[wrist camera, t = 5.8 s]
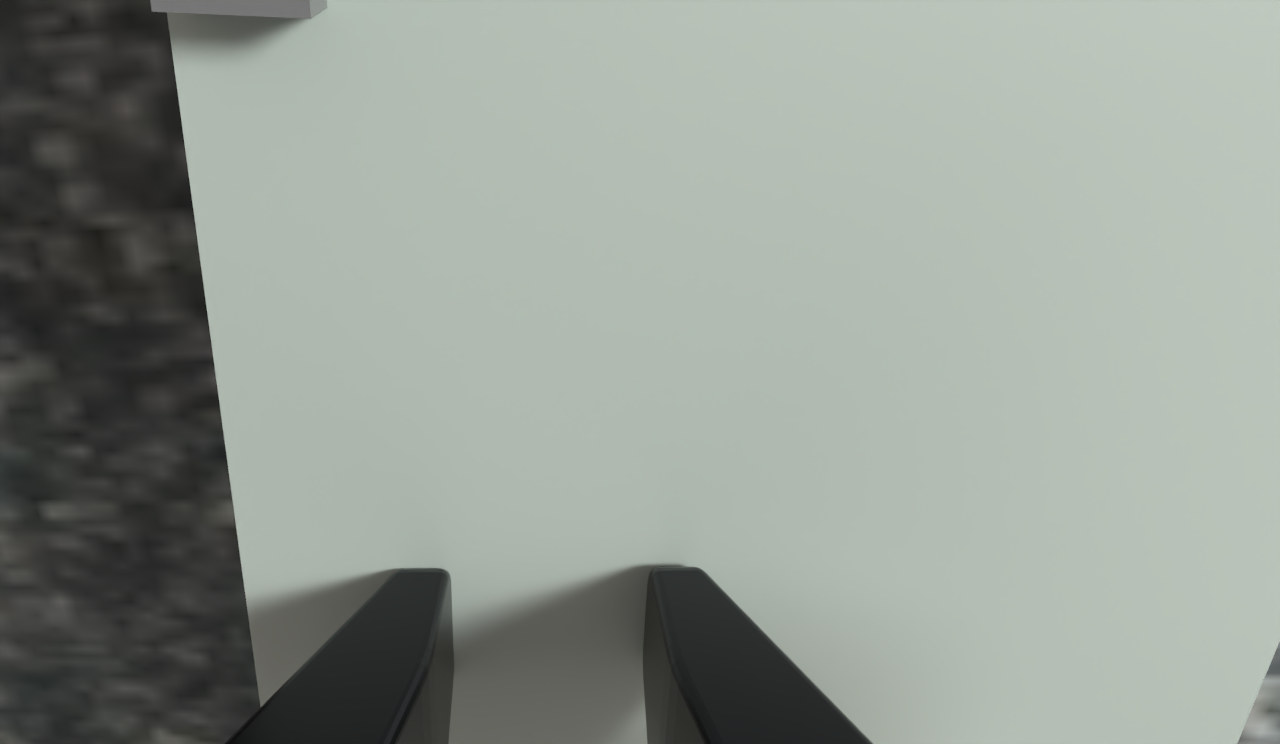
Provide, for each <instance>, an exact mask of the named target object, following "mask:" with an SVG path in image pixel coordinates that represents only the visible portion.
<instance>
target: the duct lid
mask: <svg viewBox="0 0 1280 744" xmlns="http://www.w3.org/2000/svg"><path fill="white" fill-rule="evenodd" d="M150 3H151V10H152V12H167V17H168V25H169V32H170V40H171V47H172V55H173V62H174V69H175V77H176V84H177V92H178V99H179V107H180V114H181V121H182V129H183V136H184V144H185V151H186V158H187V166H188V173H189V181H190V188H191V196H192V203H193V210H194V218H195V225H196V233H197V240H198V248H199V255H200V262H201V270H202V277H203V285H204V292H205V300H206V307H207V314H208V322H209V329H210V337H211V344H212V351H213V359H214V366H215V374H216V381H217V389H218V396H219V403H220V411H221V418H222V426H223V433H224V441H225V448H226V455H227V463H228V470H229V478H230V485H231V492H232V500H233V507H234V515H235V522H236V530H237V537H238V544H239V552H240V559H241V567H242V574H243V582H244V589H245V596H246V604H247V611H248V619H249V626H250V633H251V641H252V648H253V656H254V663H255V671H256V678H257V685H258V693H259V700H260V708H261V707H262V706H263V704H264V703H265V702H266V701H267V700H268V699H269V698H270V697H271V696H272V695H273V694H274V693H275V692H276V691H277V690H278V689H279V688H280V687H281V686H282V685H283V684H284V683H285V682H286V681H287V680H288V679H289V678H290V677H291V676H292V675H293V674H294V673H295V672H296V671H297V670H298V669H299V668H300V667H301V666H302V665H303V664H304V663H305V662H306V661H307V660H308V659H309V658H310V657H311V656H312V655H313V654H314V653H315V652H316V651H317V650H318V649H319V648H320V647H321V646H322V645H323V644H324V643H325V642H326V641H327V640H328V639H329V637H330V636H331V635H332V634H333V633H334V632H335V631H336V630H337V629H338V628H339V627H340V626H341V625H342V624H343V623H344V622H345V621H346V620H347V619H348V618H349V617H350V616H351V615H352V614H353V613H354V612H355V611H356V610H357V609H358V608H359V607H360V606H361V605H362V604H363V603H364V602H365V601H366V600H367V599H368V598H369V597H370V596H371V595H372V594H373V593H374V592H375V591H376V590H377V589H378V588H379V587H380V586H381V585H382V584H383V583H384V582H385V581H386V580H387V579H388V578H389V577H390V576H391V575H392V574H393V573H394V572H395V571H397V570H399V569H425V568H441V569H445V570H447V571H448V572H449V574H450V577H451V593H452V622H453V650H454V678H453V691H452V704H451V717H450V729H449V742H448V744H647V728H646V712H645V697H644V681H643V643H644V628H645V613H646V598H647V585H648V577H649V574H650V572H651V571H652V569H654V568H656V567H698V568H700V569H702V570H703V571H705V572H706V573H707V574H708V575H709V576H710V577H711V578H712V579H713V580H714V581H715V582H716V583H717V585H718V586H719V587H720V588H721V589H722V590H723V591H724V592H725V593H726V594H727V595H728V596H729V597H730V598H731V599H732V600H733V601H734V602H735V603H736V604H737V605H738V606H739V607H740V608H741V609H742V610H743V611H744V612H745V613H746V614H747V615H748V616H749V617H750V618H751V619H752V620H753V621H754V622H755V623H756V624H757V625H758V626H759V627H760V628H761V629H762V631H763V632H764V633H765V634H766V635H767V636H768V637H769V638H770V639H771V640H772V641H773V642H774V643H775V644H776V645H777V646H778V647H779V648H780V649H781V650H782V651H783V652H784V653H785V654H786V655H787V656H788V657H789V658H790V659H791V660H792V661H793V662H794V663H795V664H796V665H797V666H798V667H799V668H800V669H801V670H802V671H803V672H804V673H805V674H806V675H807V677H808V678H809V679H810V680H811V681H812V682H813V683H814V684H815V685H816V686H817V687H818V688H819V689H820V690H821V691H822V692H823V693H824V694H825V695H826V696H827V697H828V698H829V699H830V700H831V701H832V702H833V703H834V704H835V705H836V706H837V707H838V708H839V709H840V710H841V711H842V712H843V713H844V714H845V715H846V716H847V717H848V718H849V719H850V720H851V721H852V723H853V724H854V725H855V726H856V727H857V728H858V729H859V730H860V731H861V732H862V733H863V734H864V735H865V736H866V737H867V738H868V739H869V740H870V741H871V742H872V743H873V744H1237V743H1238V740H1239V738H1240V736H1241V733H1242V731H1243V728H1244V726H1245V723H1246V721H1247V719H1248V716H1249V714H1250V711H1251V709H1252V707H1253V704H1254V702H1255V699H1256V697H1257V694H1258V692H1259V690H1260V687H1261V685H1262V682H1263V680H1264V678H1265V675H1266V673H1267V670H1268V668H1269V666H1270V663H1271V661H1272V658H1273V656H1274V653H1275V651H1276V649H1277V646H1278V644H1279V641H1280V0H150Z"/></svg>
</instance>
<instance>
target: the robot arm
mask: <svg viewBox="0 0 1280 744" xmlns="http://www.w3.org/2000/svg"><path fill="white" fill-rule="evenodd" d="M453 678H454V650H453V622H452V593H451V577H450V574H449V572H448V571H447V570H445V569H441V568H425V569H399V570H397V571H395V572H394V573H393V574H392V575H391V576H390V577H389V578H388V579H387V580H386V581H385V582H384V583H383V584H382V585H381V586H380V587H379V588H378V589H377V590H376V591H375V592H374V593H373V594H372V595H371V596H370V597H369V598H368V599H367V600H366V601H365V602H364V603H363V604H362V605H361V606H360V607H359V608H358V609H357V610H356V611H355V612H354V613H353V614H352V615H351V616H350V617H349V618H348V619H347V620H346V621H345V622H344V623H343V624H342V625H341V626H340V627H339V628H338V629H337V630H336V631H335V632H334V633H333V634H332V635H331V636H330V637H329V639H328V640H327V641H326V642H325V643H324V644H323V645H322V646H321V647H320V648H319V649H318V650H317V651H316V652H315V653H314V654H313V655H312V656H311V657H310V658H309V659H308V660H307V661H306V662H305V663H304V664H303V665H302V666H301V667H300V668H299V669H298V670H297V671H296V672H295V673H294V674H293V675H292V676H291V677H290V678H289V679H288V680H287V681H286V682H285V683H284V684H283V685H282V686H281V687H280V688H279V689H278V690H277V691H276V692H275V693H274V694H273V695H272V696H271V697H270V698H269V699H268V700H267V701H266V702H265V703H264V704H263V706H262V707H261V708H260V709H259V710H258V711H257V712H256V713H255V714H254V715H253V716H252V717H251V718H250V719H249V720H248V721H247V722H246V723H245V724H244V725H243V726H242V727H241V728H240V729H239V730H238V731H237V732H236V733H235V734H234V735H233V736H232V737H231V738H230V739H229V740H228V741H227V742H226V743H225V744H448V742H449V729H450V717H451V704H452V691H453ZM643 681H644V697H645V712H646V728H647V744H873V743H872V742H871V741H870V740H869V739H868V738H867V737H866V736H865V735H864V734H863V733H862V732H861V731H860V730H859V729H858V728H857V727H856V726H855V725H854V724H853V723H852V721H851V720H850V719H849V718H848V717H847V716H846V715H845V714H844V713H843V712H842V711H841V710H840V709H839V708H838V707H837V706H836V705H835V704H834V703H833V702H832V701H831V700H830V699H829V698H828V697H827V696H826V695H825V694H824V693H823V692H822V691H821V690H820V689H819V688H818V687H817V686H816V685H815V684H814V683H813V682H812V681H811V680H810V679H809V678H808V677H807V675H806V674H805V673H804V672H803V671H802V670H801V669H800V668H799V667H798V666H797V665H796V664H795V663H794V662H793V661H792V660H791V659H790V658H789V657H788V656H787V655H786V654H785V653H784V652H783V651H782V650H781V649H780V648H779V647H778V646H777V645H776V644H775V643H774V642H773V641H772V640H771V639H770V638H769V637H768V636H767V635H766V634H765V633H764V632H763V631H762V629H761V628H760V627H759V626H758V625H757V624H756V623H755V622H754V621H753V620H752V619H751V618H750V617H749V616H748V615H747V614H746V613H745V612H744V611H743V610H742V609H741V608H740V607H739V606H738V605H737V604H736V603H735V602H734V601H733V600H732V599H731V598H730V597H729V596H728V595H727V594H726V593H725V592H724V591H723V590H722V589H721V588H720V587H719V586H718V585H717V583H716V582H715V581H714V580H713V579H712V578H711V577H710V576H709V575H708V574H707V573H706V572H705V571H703V570H702V569H700V568H698V567H656V568H654V569H652V571H651V572H650V574H649V577H648V585H647V598H646V613H645V628H644V643H643Z"/></svg>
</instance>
